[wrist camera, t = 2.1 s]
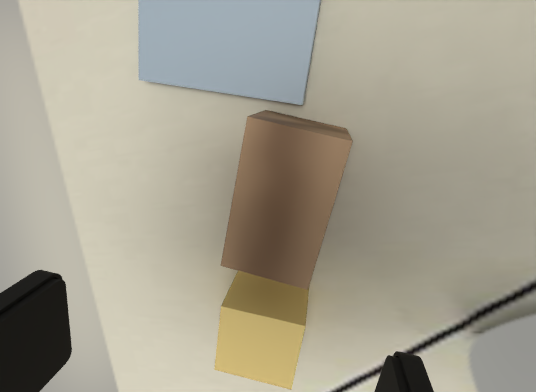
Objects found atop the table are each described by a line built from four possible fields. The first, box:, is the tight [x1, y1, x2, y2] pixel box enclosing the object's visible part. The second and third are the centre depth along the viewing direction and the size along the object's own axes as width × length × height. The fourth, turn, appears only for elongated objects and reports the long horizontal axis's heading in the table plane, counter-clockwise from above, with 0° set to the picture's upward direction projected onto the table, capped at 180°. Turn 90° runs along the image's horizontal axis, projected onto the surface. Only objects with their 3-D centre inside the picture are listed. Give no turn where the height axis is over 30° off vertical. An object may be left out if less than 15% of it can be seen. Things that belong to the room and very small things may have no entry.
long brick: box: [221, 110, 353, 290], centre depth 22 cm, size 6×10×6 cm, turn 168°
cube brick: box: [214, 270, 309, 389], centre depth 26 cm, size 6×6×6 cm
